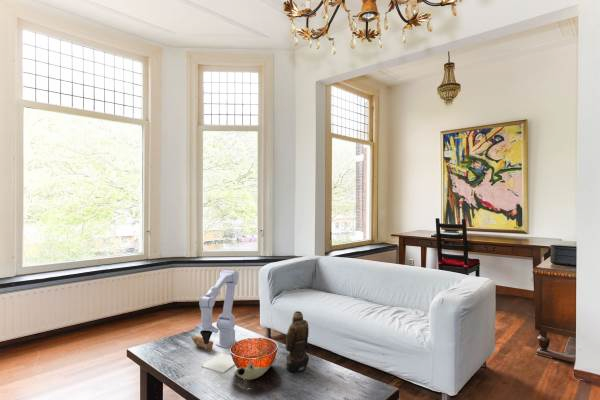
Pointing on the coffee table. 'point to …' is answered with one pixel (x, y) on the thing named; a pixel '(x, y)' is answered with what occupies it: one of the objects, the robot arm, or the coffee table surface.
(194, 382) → the coffee table surface
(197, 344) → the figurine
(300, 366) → the sculpture
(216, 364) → the felt mat
